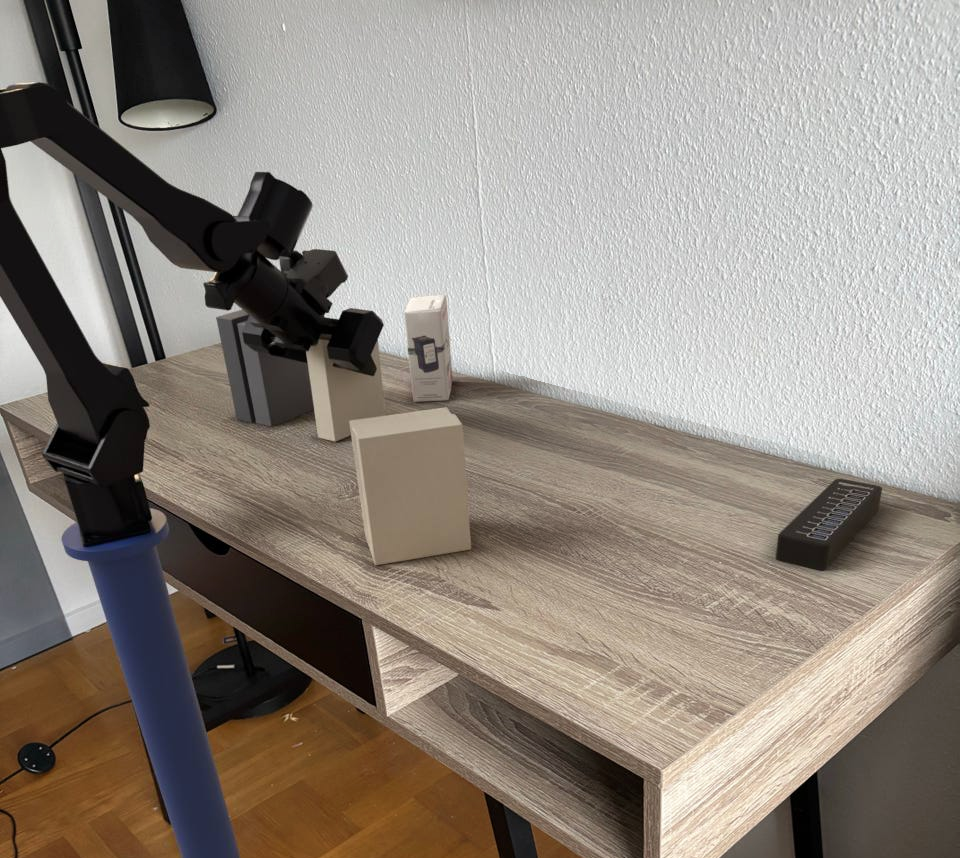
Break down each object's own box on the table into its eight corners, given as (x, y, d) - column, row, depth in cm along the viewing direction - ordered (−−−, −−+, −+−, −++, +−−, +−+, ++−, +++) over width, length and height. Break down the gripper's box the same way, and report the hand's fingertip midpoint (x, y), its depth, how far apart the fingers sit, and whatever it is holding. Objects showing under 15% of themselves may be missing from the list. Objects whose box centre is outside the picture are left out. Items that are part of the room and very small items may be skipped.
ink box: (418, 383, 132) (409, 295, 125) (453, 381, 131) (446, 293, 125) (412, 402, 124) (402, 310, 118) (449, 401, 124) (442, 308, 118)
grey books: (269, 427, 119) (250, 322, 113) (236, 419, 123) (215, 317, 116) (324, 405, 126) (309, 304, 119) (291, 398, 129) (274, 299, 122)
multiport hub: (773, 559, 82) (776, 535, 81) (833, 499, 91) (836, 477, 90) (824, 571, 80) (827, 546, 78) (879, 508, 89) (883, 486, 88)
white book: (335, 442, 113) (321, 340, 107) (317, 437, 115) (303, 337, 109) (386, 420, 119) (376, 323, 113) (369, 416, 121) (358, 320, 114)
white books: (375, 565, 86) (358, 438, 79) (365, 536, 91) (348, 415, 84) (471, 549, 87) (462, 424, 81) (456, 521, 92) (446, 401, 86)
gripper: (359, 233, 97) (438, 316, 110) (241, 224, 107) (326, 302, 120) (316, 330, 96) (401, 403, 109) (201, 312, 106) (291, 380, 119)
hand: (353, 368), depth 114 cm, fingers closed on white book, 7 cm apart
